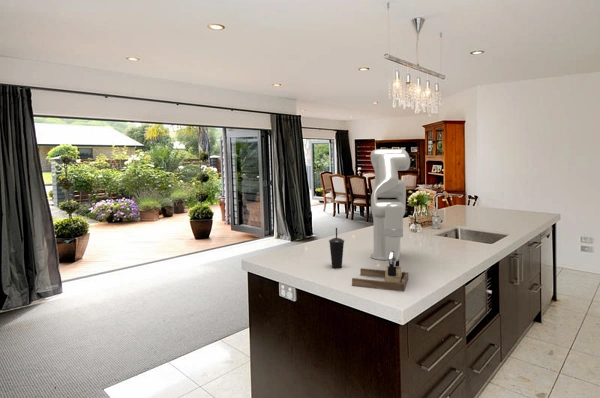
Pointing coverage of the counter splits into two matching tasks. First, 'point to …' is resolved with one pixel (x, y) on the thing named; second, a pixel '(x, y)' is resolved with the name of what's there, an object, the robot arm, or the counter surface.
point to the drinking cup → (336, 251)
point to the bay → (377, 283)
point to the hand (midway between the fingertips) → (393, 272)
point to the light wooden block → (394, 278)
